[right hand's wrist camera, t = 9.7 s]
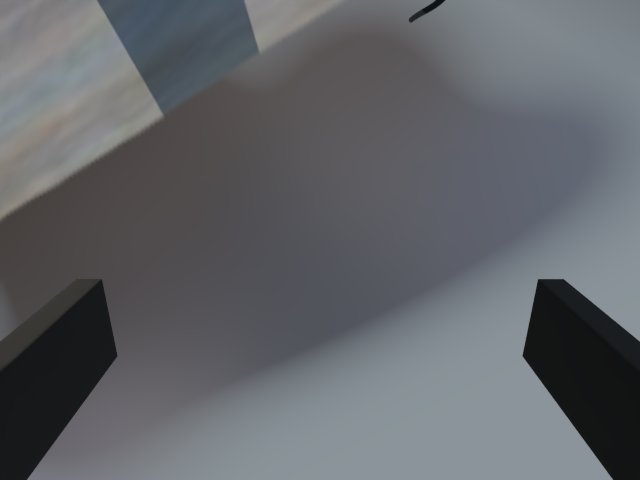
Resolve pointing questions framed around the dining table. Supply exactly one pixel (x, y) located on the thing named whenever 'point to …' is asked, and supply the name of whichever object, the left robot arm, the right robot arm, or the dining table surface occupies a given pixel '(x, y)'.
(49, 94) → the dining table surface
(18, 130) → the dining table surface
